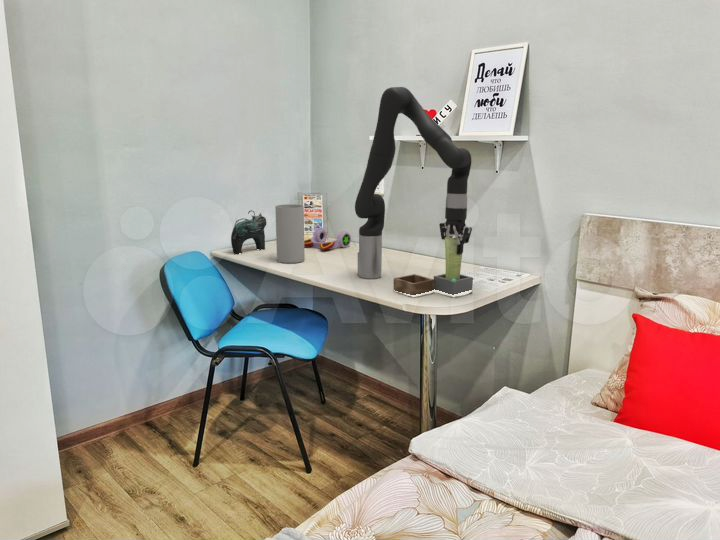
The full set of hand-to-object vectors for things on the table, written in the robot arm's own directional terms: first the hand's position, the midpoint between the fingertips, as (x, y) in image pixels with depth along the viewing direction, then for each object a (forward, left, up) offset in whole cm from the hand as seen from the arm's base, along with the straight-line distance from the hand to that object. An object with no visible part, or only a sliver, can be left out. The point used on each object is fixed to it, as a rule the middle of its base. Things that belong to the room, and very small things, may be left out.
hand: (454, 253), depth 203 cm
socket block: (0, 0, -15) cm, 15 cm away
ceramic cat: (-111, -25, -15) cm, 115 cm away
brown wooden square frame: (-9, -11, -15) cm, 20 cm away
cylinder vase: (-81, -20, -15) cm, 85 cm away
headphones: (-98, +10, -15) cm, 100 cm away
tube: (0, 0, -14) cm, 14 cm away
